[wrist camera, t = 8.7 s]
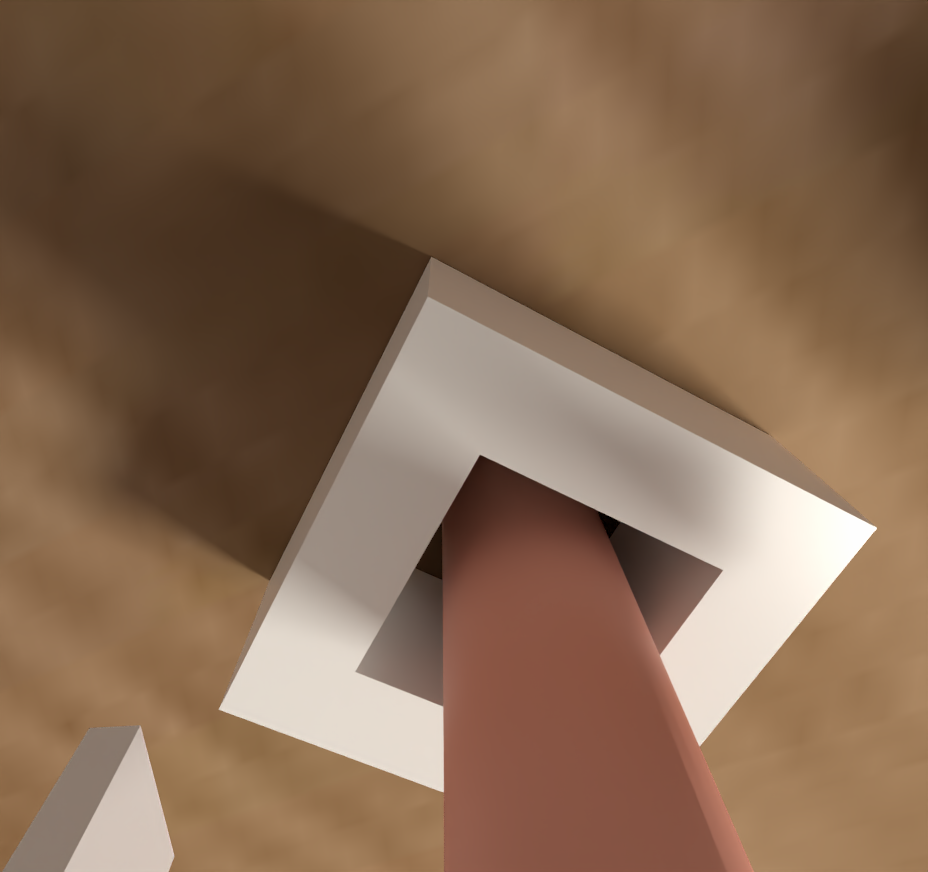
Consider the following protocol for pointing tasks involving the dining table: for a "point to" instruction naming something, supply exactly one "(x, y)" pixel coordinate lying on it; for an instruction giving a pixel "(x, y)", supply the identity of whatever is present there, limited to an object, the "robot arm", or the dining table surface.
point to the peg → (561, 700)
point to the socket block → (556, 466)
